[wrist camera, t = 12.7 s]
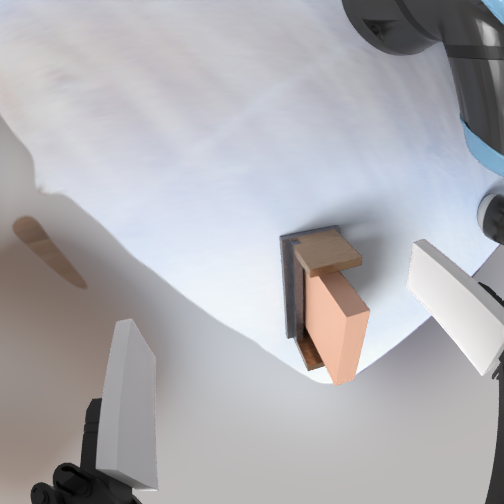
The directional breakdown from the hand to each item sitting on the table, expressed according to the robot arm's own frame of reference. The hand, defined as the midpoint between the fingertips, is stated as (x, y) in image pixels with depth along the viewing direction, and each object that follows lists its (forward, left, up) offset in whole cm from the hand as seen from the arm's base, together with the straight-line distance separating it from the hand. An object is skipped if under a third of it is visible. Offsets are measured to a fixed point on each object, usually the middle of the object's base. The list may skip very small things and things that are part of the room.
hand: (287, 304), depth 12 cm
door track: (-11, +21, -26) cm, 35 cm away
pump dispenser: (-55, +14, -26) cm, 62 cm away
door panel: (-11, +21, -25) cm, 34 cm away
